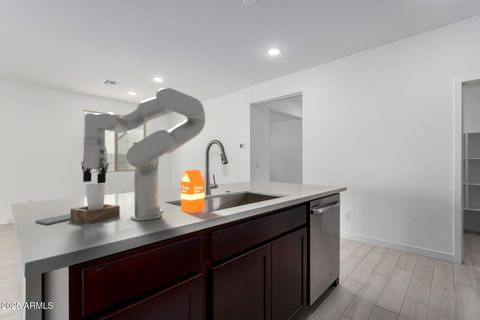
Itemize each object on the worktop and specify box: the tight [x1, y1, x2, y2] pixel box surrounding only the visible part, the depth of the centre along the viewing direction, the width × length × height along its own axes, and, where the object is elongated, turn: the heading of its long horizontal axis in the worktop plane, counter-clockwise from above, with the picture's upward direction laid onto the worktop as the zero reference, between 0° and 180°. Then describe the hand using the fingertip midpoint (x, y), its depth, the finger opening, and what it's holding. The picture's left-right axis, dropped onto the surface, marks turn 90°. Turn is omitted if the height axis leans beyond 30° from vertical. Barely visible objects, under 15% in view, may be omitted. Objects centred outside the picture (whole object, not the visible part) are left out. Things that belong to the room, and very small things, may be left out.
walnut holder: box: [70, 203, 121, 225], centre depth 100 cm, size 13×13×5 cm
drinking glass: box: [85, 182, 106, 210], centre depth 100 cm, size 7×7×15 cm
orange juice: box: [180, 169, 205, 214], centre depth 115 cm, size 8×9×20 cm
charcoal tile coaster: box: [35, 213, 71, 226], centre depth 99 cm, size 9×14×1 cm, turn 154°
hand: (94, 182), depth 100 cm, fingers open, 9 cm apart
